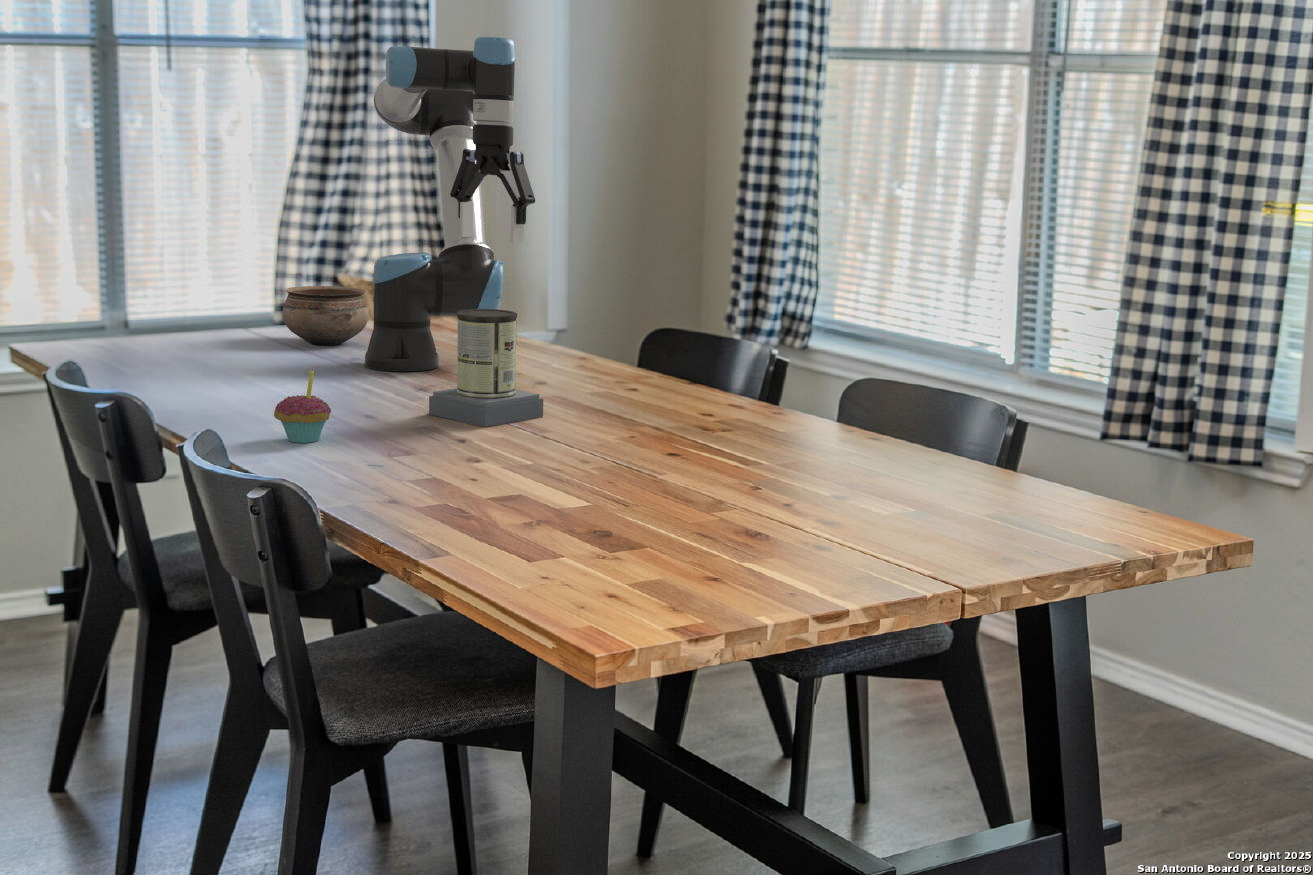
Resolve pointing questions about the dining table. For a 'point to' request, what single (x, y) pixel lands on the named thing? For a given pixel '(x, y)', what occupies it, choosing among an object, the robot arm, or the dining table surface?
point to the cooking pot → (325, 313)
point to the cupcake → (303, 415)
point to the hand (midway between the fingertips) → (491, 239)
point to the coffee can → (486, 353)
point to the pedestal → (485, 407)
